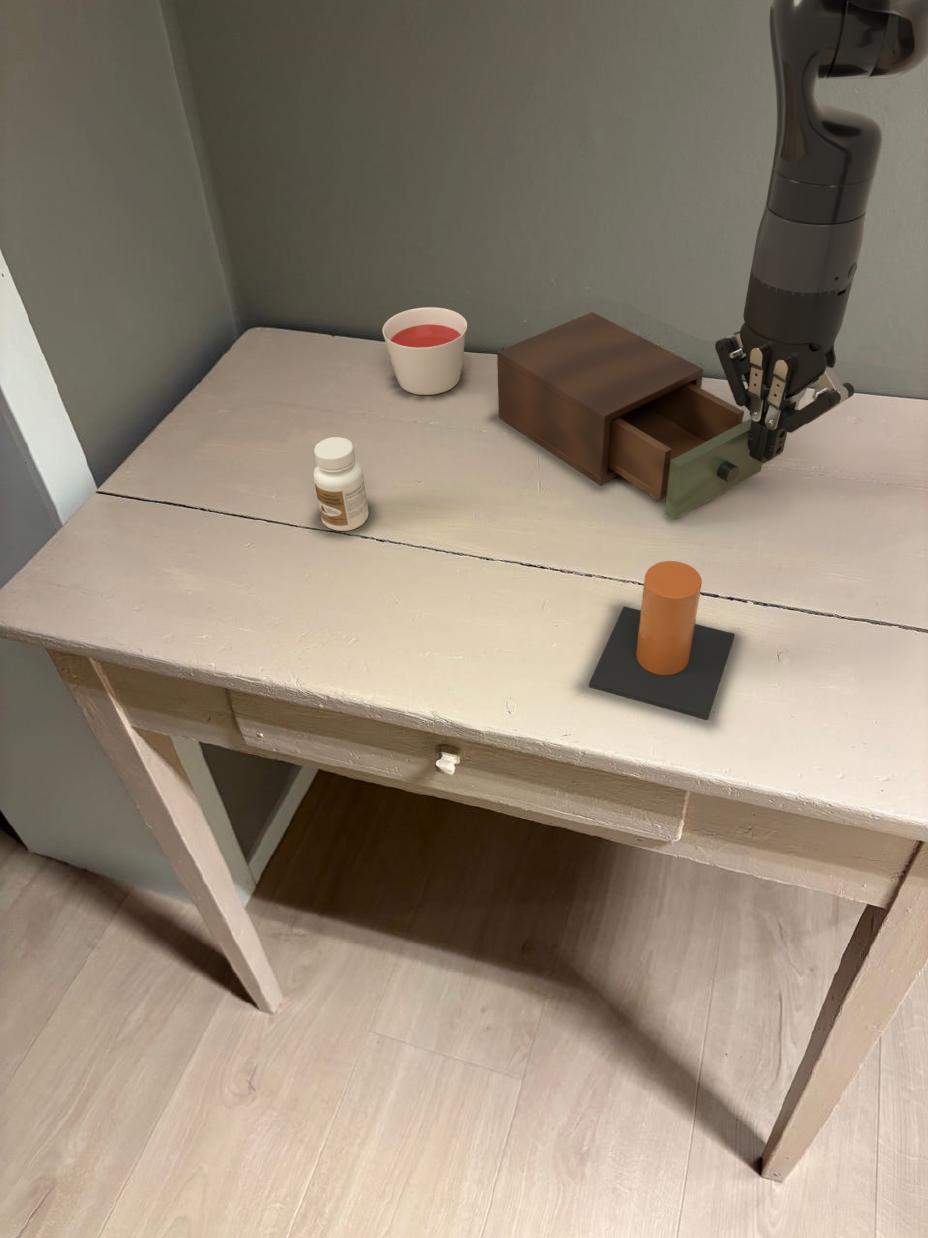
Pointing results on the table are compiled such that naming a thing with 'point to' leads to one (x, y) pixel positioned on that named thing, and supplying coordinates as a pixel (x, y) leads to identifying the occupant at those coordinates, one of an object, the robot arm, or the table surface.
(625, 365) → the cabinet
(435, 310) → the candle
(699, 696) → the mat
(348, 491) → the pill bottle
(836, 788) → the table surface
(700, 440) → the drawer
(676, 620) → the spice tin
